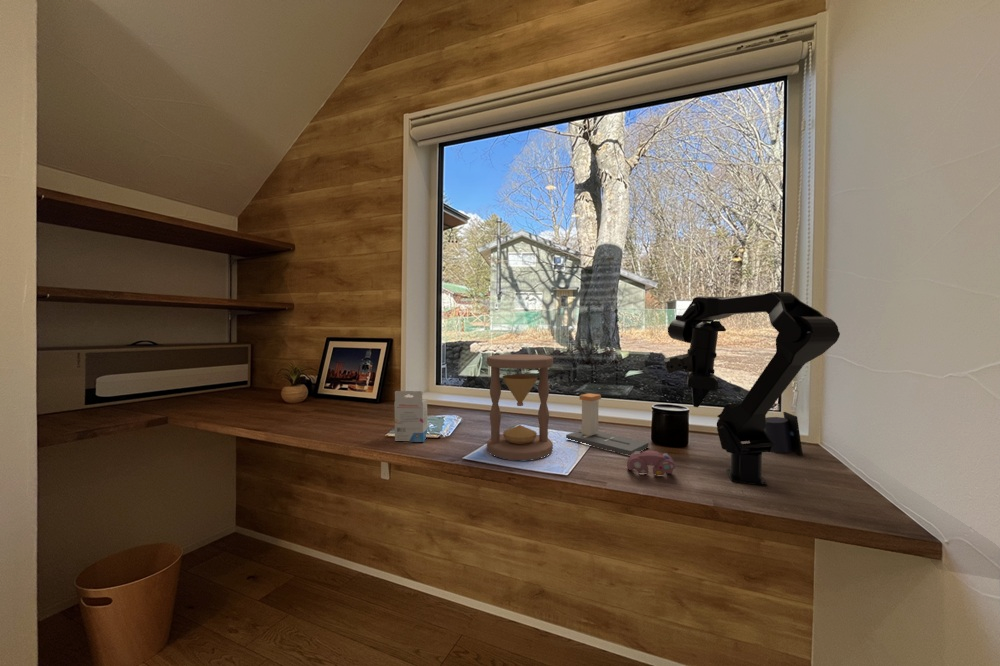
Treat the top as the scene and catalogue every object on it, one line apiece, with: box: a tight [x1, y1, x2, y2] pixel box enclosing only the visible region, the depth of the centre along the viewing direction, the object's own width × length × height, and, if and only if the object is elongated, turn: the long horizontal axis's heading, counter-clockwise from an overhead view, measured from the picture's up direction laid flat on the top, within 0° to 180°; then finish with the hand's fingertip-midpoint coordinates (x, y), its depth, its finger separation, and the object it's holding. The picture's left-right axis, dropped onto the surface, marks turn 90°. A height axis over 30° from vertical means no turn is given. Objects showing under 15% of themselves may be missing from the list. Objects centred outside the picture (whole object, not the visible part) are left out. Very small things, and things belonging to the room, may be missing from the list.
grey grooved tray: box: [565, 429, 650, 455], centre depth 108 cm, size 20×10×2 cm, turn 44°
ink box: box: [393, 390, 428, 443], centre depth 111 cm, size 8×5×15 cm, turn 85°
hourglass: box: [486, 353, 554, 461], centre depth 102 cm, size 18×18×25 cm
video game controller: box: [626, 450, 676, 476], centre depth 86 cm, size 10×5×7 cm, turn 77°
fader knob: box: [578, 392, 602, 436], centre depth 111 cm, size 4×5×11 cm
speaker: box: [764, 411, 804, 457], centre depth 102 cm, size 8×6×10 cm
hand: (695, 406), depth 98 cm, fingers closed
